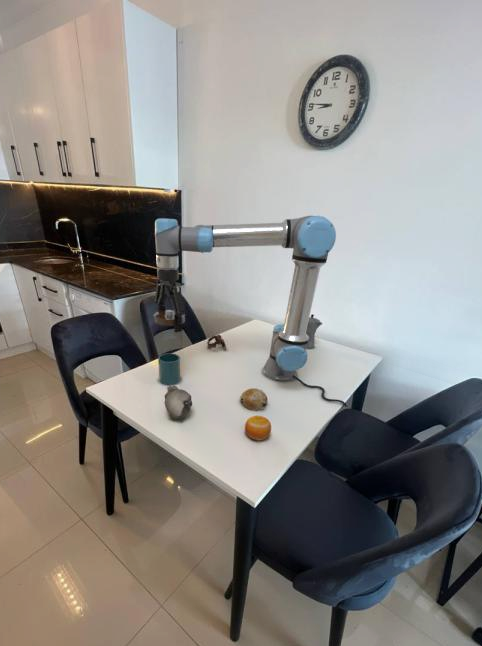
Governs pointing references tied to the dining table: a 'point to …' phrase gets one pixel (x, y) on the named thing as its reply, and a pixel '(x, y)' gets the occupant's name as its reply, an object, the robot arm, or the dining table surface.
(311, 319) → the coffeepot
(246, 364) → the dining table surface
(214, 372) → the dining table surface
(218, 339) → the brown strappy sandal
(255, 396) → the brown oval lump
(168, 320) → the lid
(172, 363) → the canister
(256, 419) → the fruit
